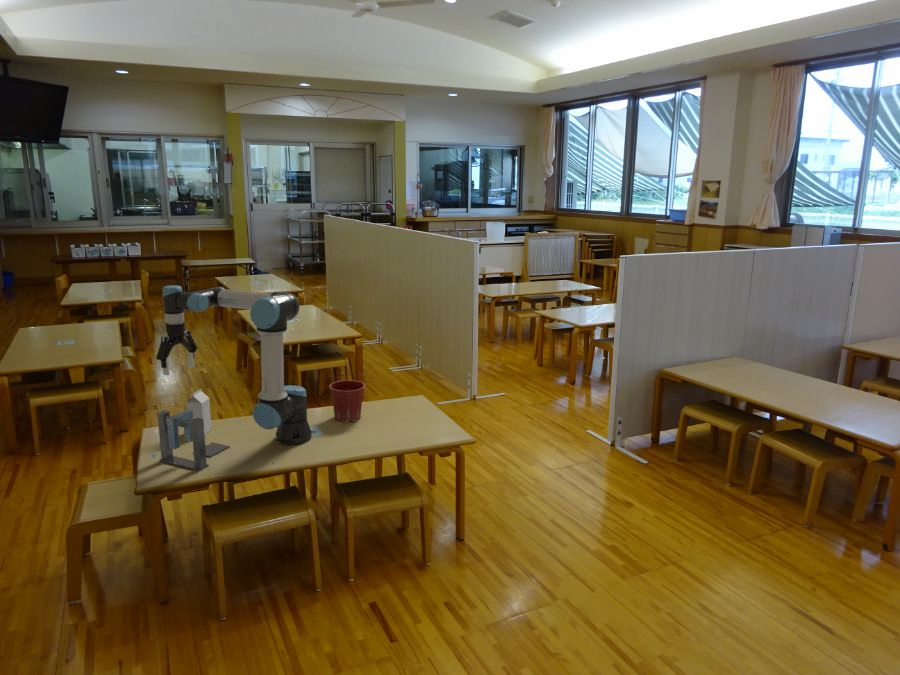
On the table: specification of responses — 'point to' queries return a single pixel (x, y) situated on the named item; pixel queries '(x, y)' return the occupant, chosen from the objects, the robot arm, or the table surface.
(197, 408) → the milk carton
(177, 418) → the bracket
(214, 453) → the mat
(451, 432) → the table surface
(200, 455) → the rail
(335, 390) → the flower pot
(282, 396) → the robot arm
